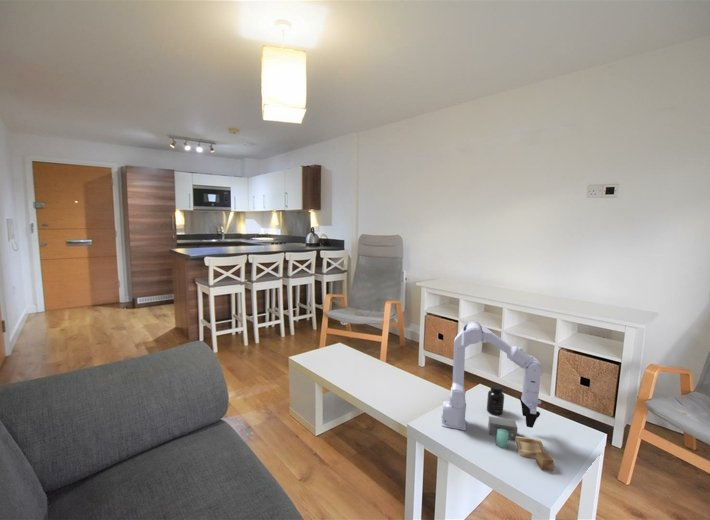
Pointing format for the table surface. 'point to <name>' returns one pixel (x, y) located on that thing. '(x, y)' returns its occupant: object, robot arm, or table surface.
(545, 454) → the walnut block
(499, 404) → the supplement bottle
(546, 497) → the table surface
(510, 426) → the gray block
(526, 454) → the birch tray
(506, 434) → the teal peg
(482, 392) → the table surface
